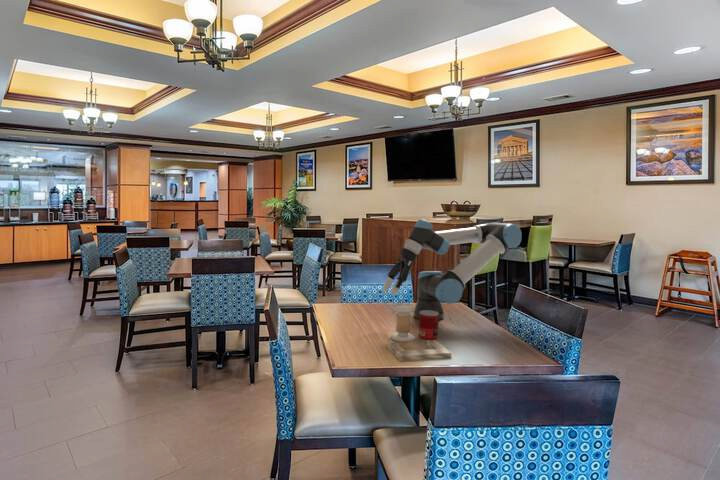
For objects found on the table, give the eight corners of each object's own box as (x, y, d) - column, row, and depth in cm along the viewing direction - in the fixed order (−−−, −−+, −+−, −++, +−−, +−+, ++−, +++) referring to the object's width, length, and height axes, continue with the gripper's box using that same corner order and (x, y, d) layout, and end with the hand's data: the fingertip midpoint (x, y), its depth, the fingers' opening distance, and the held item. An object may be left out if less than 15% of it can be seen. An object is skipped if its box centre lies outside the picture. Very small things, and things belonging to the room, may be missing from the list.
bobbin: (409, 334, 194) (410, 304, 193) (418, 341, 185) (419, 310, 184) (387, 335, 192) (388, 305, 191) (395, 342, 182) (396, 311, 181)
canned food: (437, 341, 185) (438, 315, 184) (417, 339, 187) (418, 313, 186) (437, 335, 193) (438, 310, 192) (419, 334, 194) (420, 309, 194)
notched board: (434, 344, 181) (435, 340, 180) (451, 357, 166) (451, 352, 166) (387, 347, 176) (387, 342, 175) (400, 360, 161) (400, 355, 161)
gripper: (395, 246, 214) (374, 285, 212) (412, 247, 190) (389, 291, 188) (408, 254, 216) (387, 292, 214) (427, 256, 192) (404, 300, 189)
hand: (388, 292), depth 201 cm, fingers open, 13 cm apart
